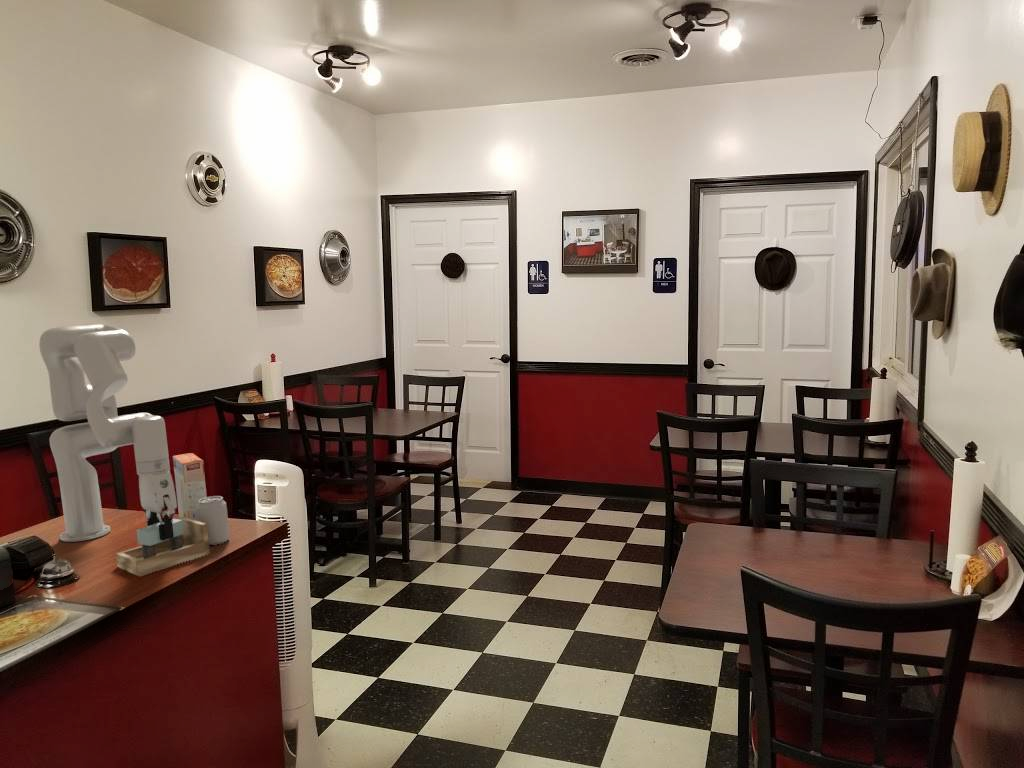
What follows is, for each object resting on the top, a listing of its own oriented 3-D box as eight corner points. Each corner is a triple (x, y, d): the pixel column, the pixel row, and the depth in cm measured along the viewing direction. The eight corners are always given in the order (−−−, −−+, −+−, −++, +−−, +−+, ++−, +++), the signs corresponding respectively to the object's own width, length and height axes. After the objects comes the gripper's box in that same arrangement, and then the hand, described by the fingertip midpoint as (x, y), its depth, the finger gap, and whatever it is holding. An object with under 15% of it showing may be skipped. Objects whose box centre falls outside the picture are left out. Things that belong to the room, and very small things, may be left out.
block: (172, 531, 204) (170, 518, 204) (184, 533, 202) (182, 519, 202) (138, 543, 195) (136, 530, 195) (150, 545, 193) (148, 532, 193)
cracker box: (211, 533, 220) (203, 459, 217) (189, 537, 217) (180, 463, 214) (201, 521, 232) (193, 451, 229) (179, 526, 229) (171, 455, 226)
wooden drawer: (117, 567, 196) (113, 535, 195) (186, 545, 210) (183, 516, 209) (139, 576, 189) (135, 544, 188) (209, 554, 202) (206, 523, 201)
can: (220, 547, 208) (215, 502, 206) (194, 546, 209) (189, 502, 207) (235, 537, 215) (231, 494, 213) (210, 537, 216) (205, 494, 215)
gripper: (184, 466, 193) (192, 538, 196) (151, 459, 204) (159, 527, 207) (154, 473, 188) (163, 547, 190) (122, 465, 199) (130, 535, 201)
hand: (161, 536), depth 199 cm, fingers closed on block, 5 cm apart
